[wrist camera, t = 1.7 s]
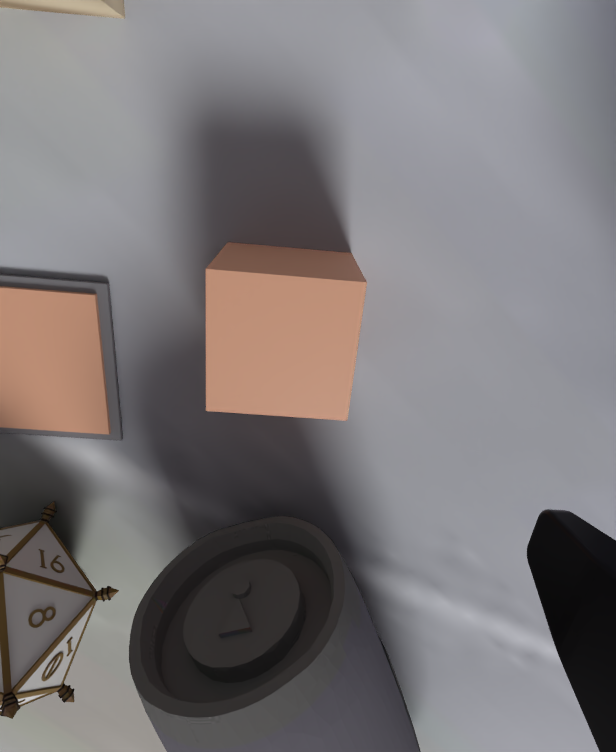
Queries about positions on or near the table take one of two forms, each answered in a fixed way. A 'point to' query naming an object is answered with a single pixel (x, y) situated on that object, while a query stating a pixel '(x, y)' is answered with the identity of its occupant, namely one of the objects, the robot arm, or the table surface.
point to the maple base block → (71, 6)
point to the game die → (40, 613)
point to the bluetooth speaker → (265, 649)
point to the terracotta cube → (282, 331)
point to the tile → (57, 359)
